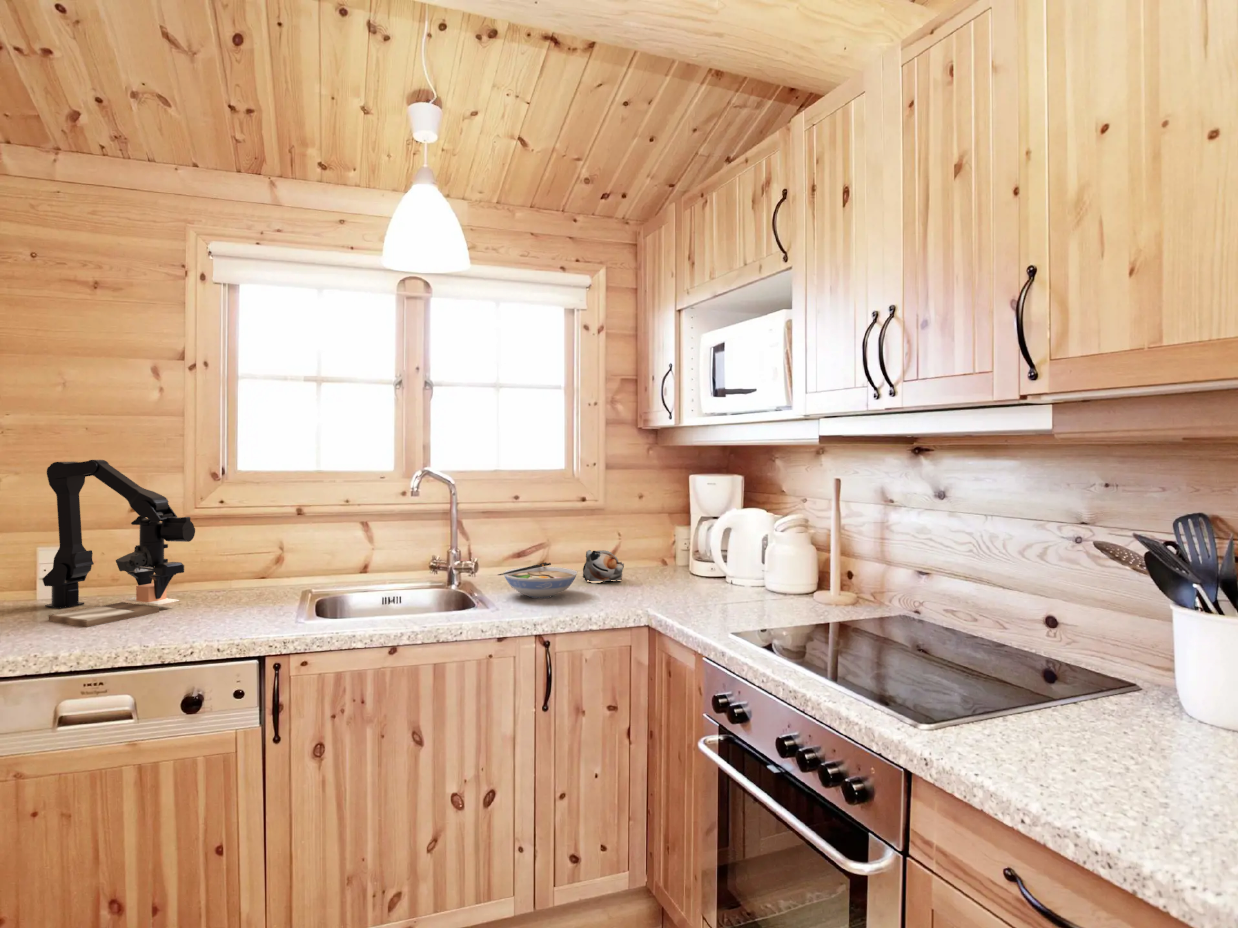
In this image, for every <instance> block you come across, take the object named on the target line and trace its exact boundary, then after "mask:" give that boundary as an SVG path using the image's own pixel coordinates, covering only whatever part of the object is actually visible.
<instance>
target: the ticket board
mask: <svg viewBox="0 0 1238 928" xmlns="http://www.w3.org/2000/svg"><path fill="white" fill-rule="evenodd" d="M159 612H160V606H151V605H147V604H146V605H145V604H138V603H130V602H124V601H122V602H121V601H120V602H115V603H110V604H105V605H104V604H103V605H96V606H92V607H91V606H90V607H88V608H87V607H86V608H80V609H75V610H70V611H65V612H59V613H58V612H57V613H52V614H50V615H48V621H49V622H53V623H61V624H65V625H66V624H67V625H73V626H78V627H84V628H88V627H93V626H98V625H104V624H107V623H112V622H113V623H114V622H120V621H122V620H123V621H124V620H127V619H132V618H136V617H143V616H146V615H147V616H149V615H153V614H156V613H159Z"/></svg>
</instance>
